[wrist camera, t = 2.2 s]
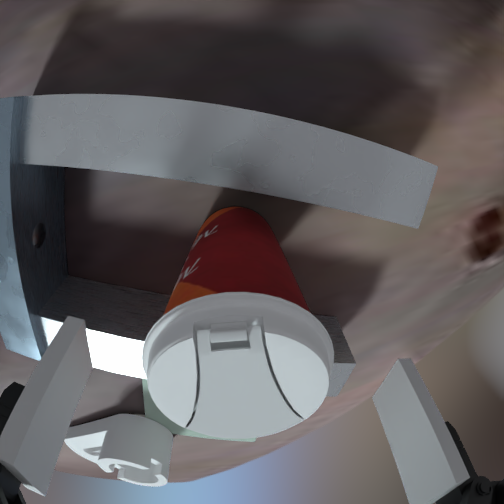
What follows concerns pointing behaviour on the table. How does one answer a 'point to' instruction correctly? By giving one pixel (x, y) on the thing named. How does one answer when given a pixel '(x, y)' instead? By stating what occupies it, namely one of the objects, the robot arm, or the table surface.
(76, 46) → the table surface
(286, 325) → the paper cup
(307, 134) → the vise
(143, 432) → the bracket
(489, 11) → the table surface
